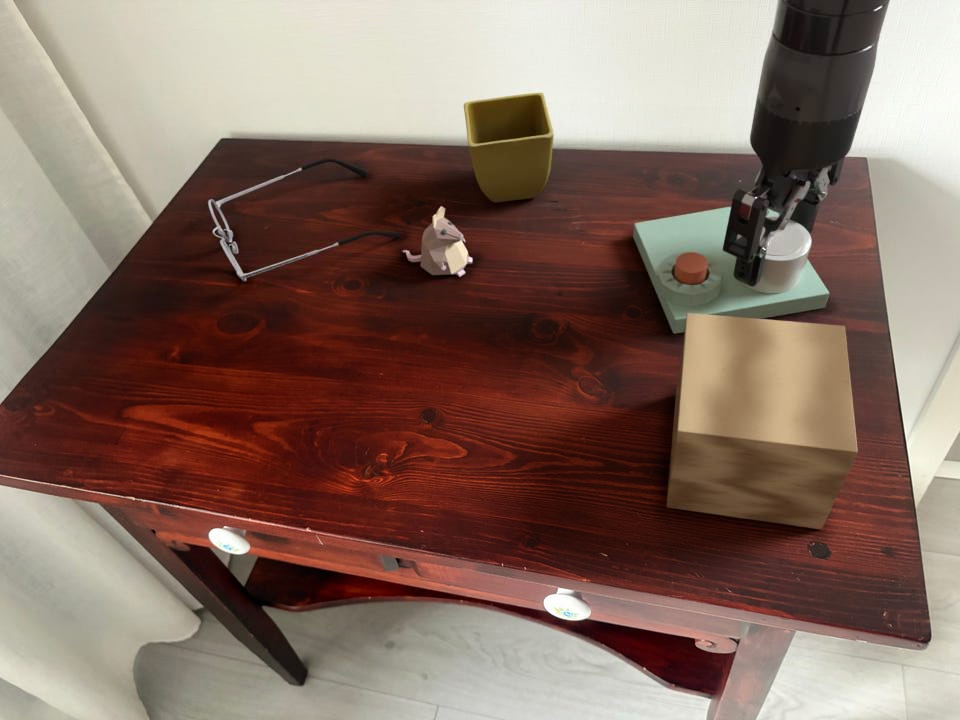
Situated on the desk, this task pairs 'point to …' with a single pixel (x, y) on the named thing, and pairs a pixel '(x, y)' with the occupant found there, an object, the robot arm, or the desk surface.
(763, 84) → the robot arm
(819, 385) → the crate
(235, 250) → the eyeglasses
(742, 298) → the scale
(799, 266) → the ramekin
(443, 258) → the mouse figurine
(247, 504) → the desk surface
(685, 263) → the button
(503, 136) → the flower pot
